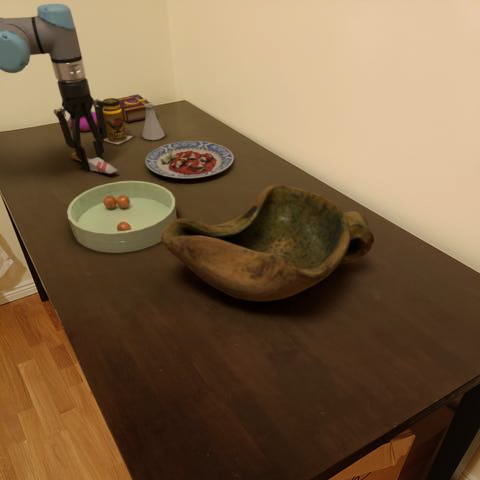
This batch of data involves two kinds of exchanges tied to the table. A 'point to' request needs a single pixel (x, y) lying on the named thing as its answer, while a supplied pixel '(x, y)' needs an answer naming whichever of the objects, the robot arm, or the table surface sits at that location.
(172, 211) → the bowl
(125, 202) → the bead
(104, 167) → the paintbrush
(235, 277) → the bowl
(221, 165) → the ceramic plate
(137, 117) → the decorative book
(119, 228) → the bead
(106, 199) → the bead
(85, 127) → the donut
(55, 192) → the table surface
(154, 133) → the flask
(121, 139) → the condiment
